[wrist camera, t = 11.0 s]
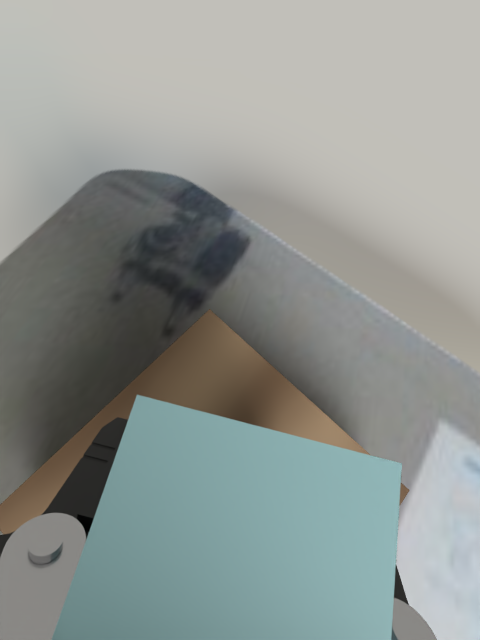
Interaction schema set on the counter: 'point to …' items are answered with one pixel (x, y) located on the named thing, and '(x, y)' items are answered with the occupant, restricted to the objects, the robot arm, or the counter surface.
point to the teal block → (235, 536)
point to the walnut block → (190, 406)
